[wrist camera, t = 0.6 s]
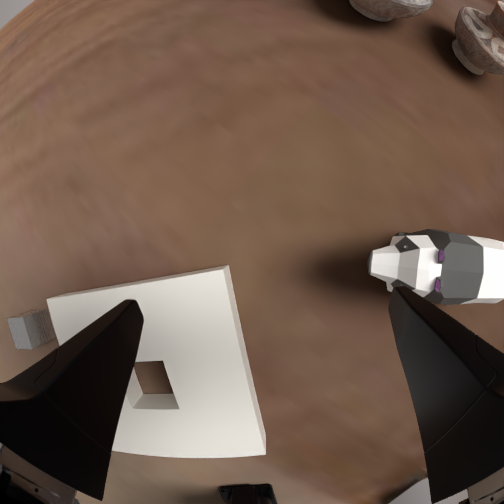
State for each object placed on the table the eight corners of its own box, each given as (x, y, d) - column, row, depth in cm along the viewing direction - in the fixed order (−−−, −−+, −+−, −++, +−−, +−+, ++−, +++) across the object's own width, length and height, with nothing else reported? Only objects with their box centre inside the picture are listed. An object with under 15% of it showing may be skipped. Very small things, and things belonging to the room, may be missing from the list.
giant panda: (469, 238, 22) (535, 241, 12) (463, 292, 22) (526, 312, 13) (343, 222, 22) (392, 214, 13) (337, 287, 23) (380, 320, 13)
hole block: (265, 435, 24) (265, 454, 21) (116, 435, 25) (106, 449, 22) (228, 264, 23) (223, 269, 20) (64, 293, 24) (46, 299, 21)
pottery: (497, 105, 21) (553, 75, 9) (321, 17, 21) (340, -60, 9) (486, 50, 20) (527, 16, 8) (332, -26, 20) (346, -86, 9)
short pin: (56, 337, 24) (32, 349, 20) (39, 337, 25) (16, 348, 20) (48, 308, 24) (22, 317, 20) (32, 310, 24) (7, 318, 20)
